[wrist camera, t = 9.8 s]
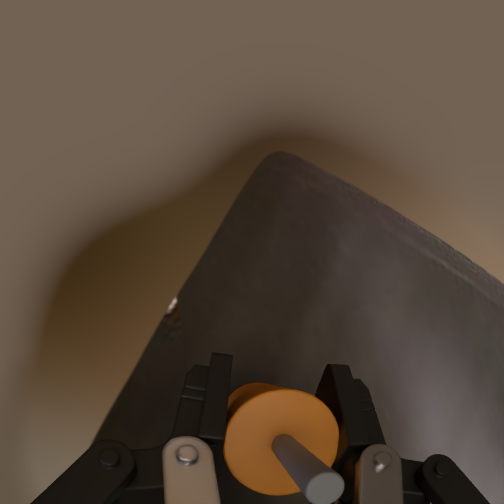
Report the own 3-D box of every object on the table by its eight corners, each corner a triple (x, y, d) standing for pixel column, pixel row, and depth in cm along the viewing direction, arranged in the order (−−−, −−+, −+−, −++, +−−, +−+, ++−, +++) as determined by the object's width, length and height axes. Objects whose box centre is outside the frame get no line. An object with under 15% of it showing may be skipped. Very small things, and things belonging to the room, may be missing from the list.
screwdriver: (233, 454, 14) (255, 582, 3) (214, 392, 15) (197, 431, 4) (299, 435, 14) (422, 515, 4) (281, 374, 15) (389, 368, 5)
